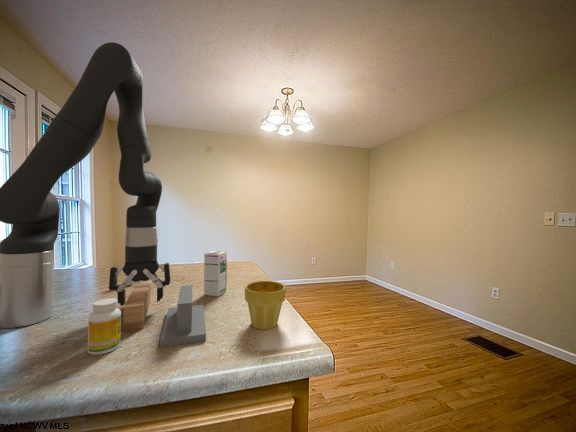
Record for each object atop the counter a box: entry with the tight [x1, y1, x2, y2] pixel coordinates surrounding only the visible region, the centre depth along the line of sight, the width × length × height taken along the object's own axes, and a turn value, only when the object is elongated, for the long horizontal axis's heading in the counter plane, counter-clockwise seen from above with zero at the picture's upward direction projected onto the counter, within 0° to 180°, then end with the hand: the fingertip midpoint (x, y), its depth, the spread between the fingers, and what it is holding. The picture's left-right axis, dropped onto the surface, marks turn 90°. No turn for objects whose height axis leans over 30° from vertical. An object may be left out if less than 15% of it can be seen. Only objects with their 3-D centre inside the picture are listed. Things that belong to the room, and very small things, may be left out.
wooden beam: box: [122, 282, 152, 333], centre depth 66 cm, size 20×4×6 cm, turn 25°
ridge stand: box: [159, 284, 207, 349], centre depth 60 cm, size 9×18×8 cm, turn 21°
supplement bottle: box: [87, 297, 122, 356], centre depth 49 cm, size 5×5×10 cm
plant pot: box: [244, 280, 287, 330], centre depth 62 cm, size 10×10×10 cm
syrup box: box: [203, 250, 228, 297], centre depth 85 cm, size 6×6×14 cm
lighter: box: [122, 265, 141, 287], centre depth 91 cm, size 7×2×8 cm, turn 167°
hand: (141, 302), depth 66 cm, fingers open, 8 cm apart
